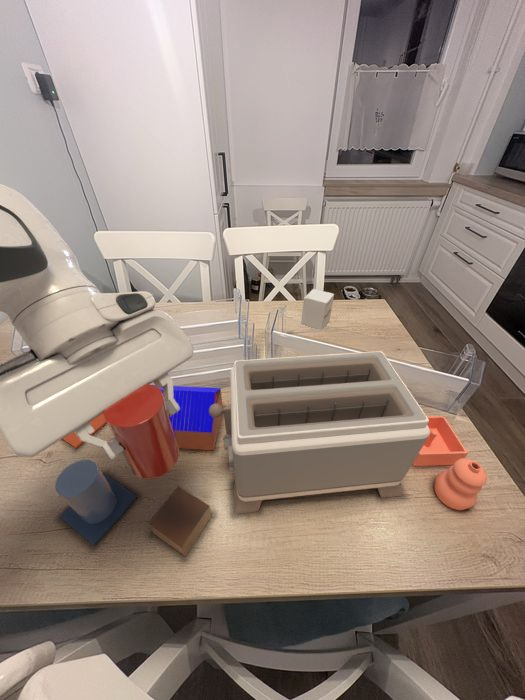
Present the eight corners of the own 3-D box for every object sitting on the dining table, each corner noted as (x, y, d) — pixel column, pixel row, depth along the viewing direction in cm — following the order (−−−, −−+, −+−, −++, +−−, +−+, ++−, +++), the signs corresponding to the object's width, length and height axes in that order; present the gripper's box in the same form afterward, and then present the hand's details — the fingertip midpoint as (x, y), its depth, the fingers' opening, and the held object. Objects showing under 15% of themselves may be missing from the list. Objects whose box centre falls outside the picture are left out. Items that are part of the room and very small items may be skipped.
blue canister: (95, 531, 49) (71, 504, 43) (72, 512, 51) (46, 484, 45) (124, 498, 53) (106, 470, 47) (102, 483, 55) (81, 453, 49)
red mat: (76, 448, 62) (75, 447, 61) (50, 431, 65) (49, 430, 65) (112, 418, 68) (111, 417, 67) (86, 404, 71) (85, 402, 71)
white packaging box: (320, 338, 93) (326, 303, 85) (299, 331, 96) (303, 297, 88) (329, 327, 98) (335, 293, 90) (308, 321, 101) (312, 287, 93)
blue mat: (94, 546, 48) (93, 545, 47) (60, 517, 51) (59, 516, 51) (137, 497, 54) (136, 495, 53) (104, 474, 57) (103, 473, 57)
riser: (185, 556, 47) (181, 547, 44) (153, 533, 49) (147, 523, 47) (212, 515, 51) (209, 505, 49) (181, 496, 54) (177, 485, 51)
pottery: (395, 428, 66) (409, 399, 60) (436, 427, 66) (454, 398, 60) (435, 512, 52) (458, 485, 46) (487, 511, 52) (517, 484, 46)
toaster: (218, 426, 66) (208, 357, 54) (363, 413, 69) (386, 345, 56) (217, 516, 51) (203, 450, 39) (402, 495, 54) (446, 428, 42)
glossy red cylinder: (155, 488, 34) (131, 436, 28) (119, 465, 36) (90, 412, 30) (189, 448, 38) (175, 395, 32) (155, 429, 40) (135, 376, 34)
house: (215, 451, 61) (209, 416, 54) (122, 446, 62) (103, 410, 55) (224, 407, 71) (220, 372, 63) (143, 403, 71) (130, 367, 64)
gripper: (-56, 375, 23) (49, 511, 25) (161, 287, 36) (223, 380, 37) (-36, 388, 28) (50, 501, 30) (148, 307, 41) (204, 388, 42)
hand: (148, 432), depth 33 cm, fingers closed on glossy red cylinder, 6 cm apart
